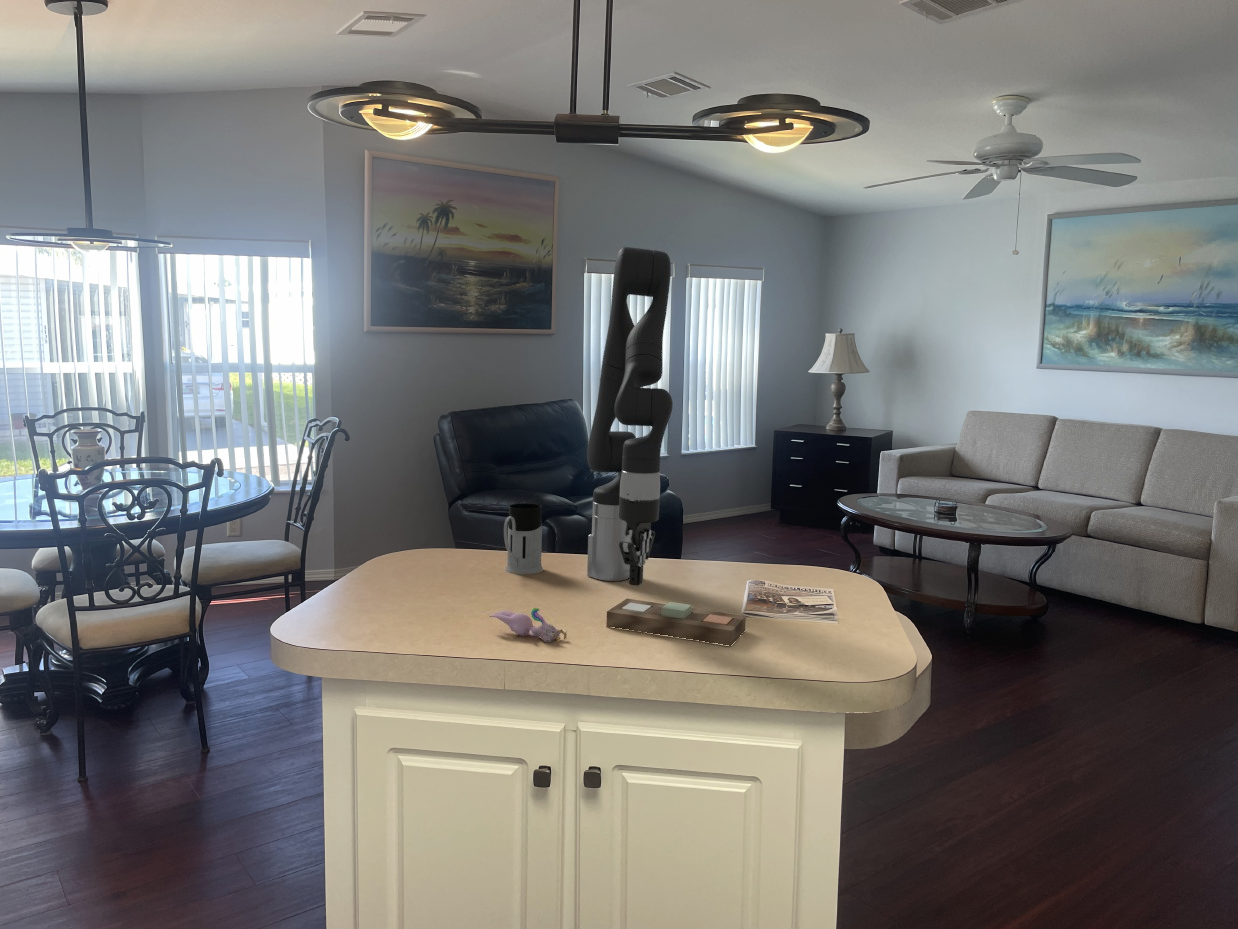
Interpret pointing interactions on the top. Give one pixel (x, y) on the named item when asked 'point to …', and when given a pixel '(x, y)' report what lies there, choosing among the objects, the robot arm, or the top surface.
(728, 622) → the terracotta button
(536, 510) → the glass holder
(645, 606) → the offwhite button
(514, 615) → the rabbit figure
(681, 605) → the sage button
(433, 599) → the top surface
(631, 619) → the button panel
